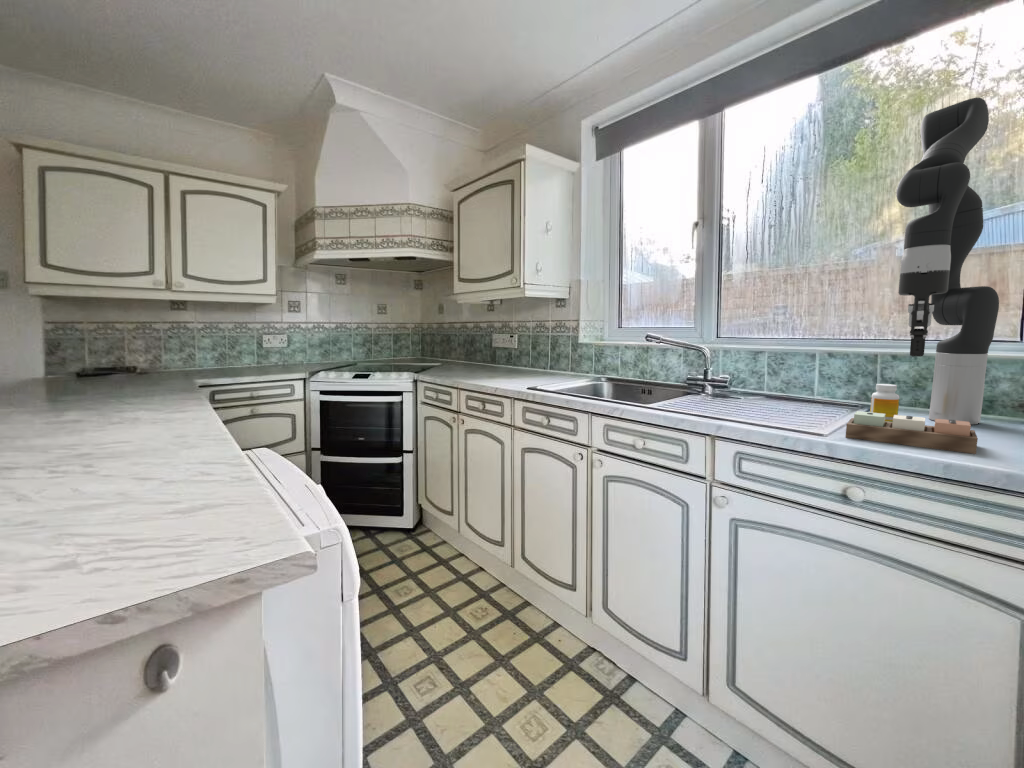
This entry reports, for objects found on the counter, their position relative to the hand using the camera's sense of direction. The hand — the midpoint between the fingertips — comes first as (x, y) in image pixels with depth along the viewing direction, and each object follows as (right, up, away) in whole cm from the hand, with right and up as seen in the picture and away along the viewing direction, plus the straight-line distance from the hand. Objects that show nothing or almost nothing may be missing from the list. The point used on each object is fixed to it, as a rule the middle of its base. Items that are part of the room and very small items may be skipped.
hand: (916, 356), depth 95 cm
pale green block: (-6, -16, +6) cm, 18 cm away
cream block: (-1, -17, +1) cm, 17 cm away
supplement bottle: (+8, -16, +19) cm, 26 cm away
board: (-1, -18, +1) cm, 18 cm away
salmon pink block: (+4, -17, -3) cm, 18 cm away
